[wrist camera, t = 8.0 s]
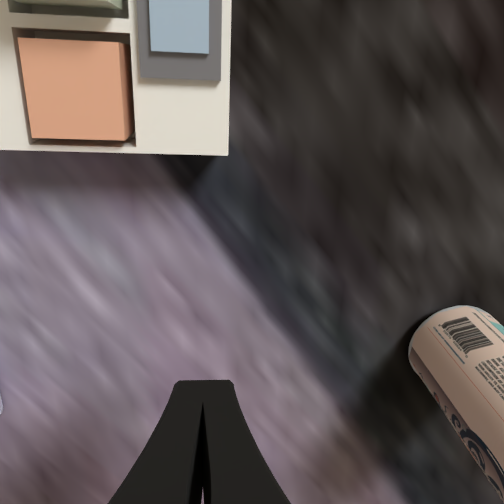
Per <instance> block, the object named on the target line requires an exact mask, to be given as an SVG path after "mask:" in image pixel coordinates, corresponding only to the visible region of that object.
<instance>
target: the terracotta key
mask: <svg viewBox="0 0 504 504" xmlns="http://www.w3.org/2000/svg"><path fill="white" fill-rule="evenodd" d="M17 38H18V37H17ZM18 45H19V52H20V59H21V66H22V73H23V80H24V86H25V93H26V100H27V107H28V114H29V121H30V128H31V135H32V138H52V139H87V140H122V141H125V140H126V139H127V138H128V137H129V136H130V135H131V134H132V133H134V132H135V114H134V97H133V79H132V62H131V45H129V44H124V43H119V42H101V41H80V40H59V39H39V38H18Z"/></svg>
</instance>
